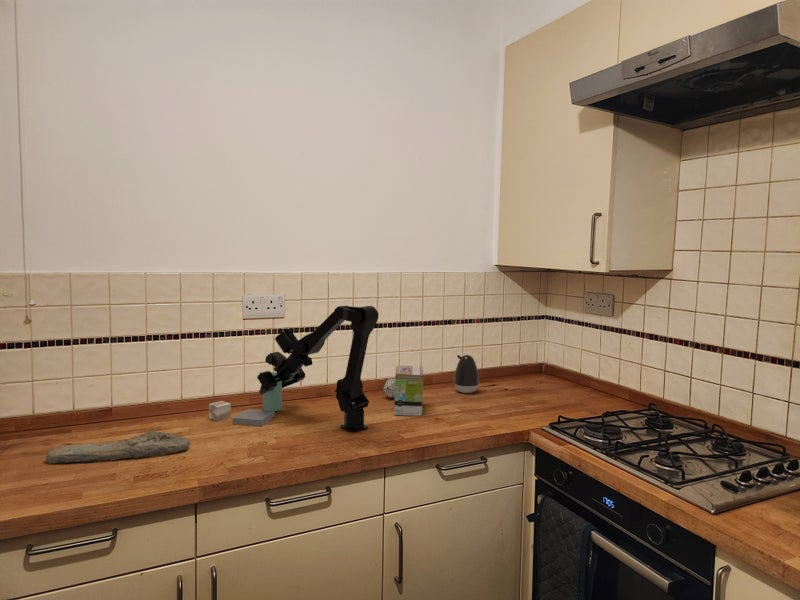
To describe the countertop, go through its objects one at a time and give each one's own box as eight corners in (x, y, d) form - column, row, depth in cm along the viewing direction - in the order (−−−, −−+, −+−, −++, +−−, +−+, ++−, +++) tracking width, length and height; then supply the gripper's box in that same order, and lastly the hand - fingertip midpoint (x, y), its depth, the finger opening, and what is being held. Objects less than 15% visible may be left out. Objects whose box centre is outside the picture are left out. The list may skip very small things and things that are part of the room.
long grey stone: (54, 459, 144) (41, 475, 135) (52, 440, 143) (39, 456, 134) (191, 441, 154) (188, 455, 145) (190, 423, 153) (187, 437, 144)
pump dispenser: (465, 387, 223) (466, 351, 222) (483, 392, 215) (485, 355, 214) (448, 390, 217) (448, 354, 215) (466, 396, 209) (467, 358, 207)
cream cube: (230, 418, 177) (230, 403, 177) (217, 421, 173) (217, 406, 173) (222, 415, 180) (222, 400, 180) (209, 418, 176) (209, 403, 176)
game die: (397, 408, 204) (405, 392, 198) (376, 400, 203) (384, 383, 198) (402, 392, 211) (410, 375, 205) (382, 384, 211) (389, 367, 205)
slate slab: (274, 418, 179) (274, 411, 179) (261, 427, 169) (261, 420, 169) (247, 416, 181) (246, 409, 180) (232, 425, 171) (232, 418, 171)
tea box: (422, 416, 182) (423, 374, 181) (393, 415, 182) (394, 373, 181) (422, 404, 197) (422, 364, 196) (395, 403, 197) (395, 364, 196)
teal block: (281, 409, 187) (281, 373, 186) (272, 412, 183) (272, 375, 182) (272, 407, 190) (272, 371, 188) (263, 410, 186) (263, 374, 185)
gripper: (299, 341, 190) (276, 368, 197) (261, 349, 174) (237, 377, 181) (316, 366, 187) (292, 392, 194) (279, 376, 171) (254, 404, 178)
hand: (269, 390), depth 187 cm, fingers open, 9 cm apart
